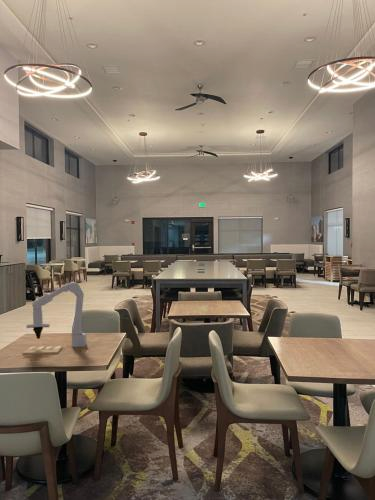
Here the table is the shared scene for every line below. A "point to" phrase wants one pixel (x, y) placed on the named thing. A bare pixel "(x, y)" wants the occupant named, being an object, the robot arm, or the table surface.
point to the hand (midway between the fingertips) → (38, 338)
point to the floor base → (41, 352)
